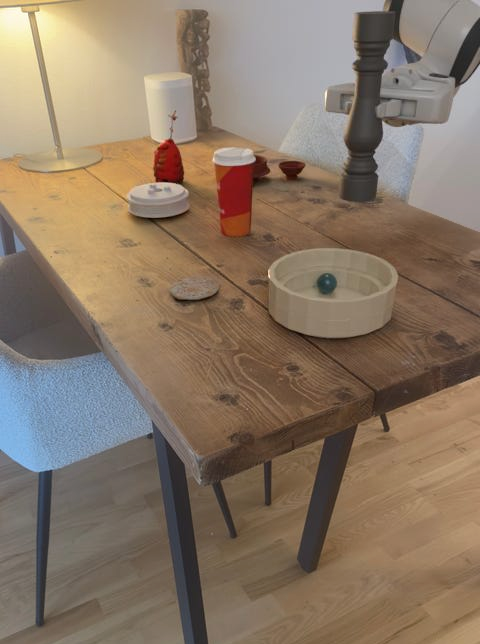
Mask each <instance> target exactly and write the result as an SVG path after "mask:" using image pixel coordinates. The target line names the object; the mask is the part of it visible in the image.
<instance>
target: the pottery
mask: <svg viewBox="0 0 480 644" xmlns="http://www.w3.org/2000/svg"><path fill="white" fill-rule="evenodd" d="M254 157H255V159H256V160H255V161H254V169H253V182H254V183H256V182H258V181H259V178H261V177H265V176H267V175H269V174H271V168H270V167H268V159H267V158H266V157H264V156H262V155H257V154H254ZM277 165H278V168H279V169H280V172H281V173H282V174H283V175H284V179H285V180H287V181H295V180H297V179H298V177H299V176H298V175H300V174H301V173H302V171H303V170H304V169H305V168H306V165H307V164H306V163H305V162H303V161H299V160H285V161H281V162H279V163H278V164H277ZM257 180H258V181H257Z"/></svg>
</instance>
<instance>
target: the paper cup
mask: <svg viewBox="0 0 480 644" xmlns="http://www.w3.org/2000/svg"><path fill="white" fill-rule="evenodd" d="M254 155H255V154H254V151H253V150H252V149H251V148H245V147H236V146H233V147H223V148H218V149H217V150H215V151H214V153H213V158H212V160H211V161H212V163H213V165H214V174H215V175H214V177H215V184H216V185H215V186H216V196H217V206H218V216H219V224H220V232H221V234H222V235H224V236H227V237H243V236H246V235H249V234H250V232H251V229H252V228H251V226H252V210H253V191H254V190H253V189H254V183H253V169H254V161H255V160H256V159H255V157H254Z"/></svg>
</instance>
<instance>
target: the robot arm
mask: <svg viewBox="0 0 480 644" xmlns="http://www.w3.org/2000/svg"><path fill="white" fill-rule="evenodd" d="M382 11H393V12H396V13H395V22H394V31H393V39H392V40H393V41H395V42H396V43H398V44H401V45H402V46H406V47H407V48H408V49H410V50H411V51H413V52H414V53H415V54H417V55H418V56H419V57H421V58H420V60H418V61H416V62H411V63H406V64H403V65H399V66H396V67H392V68H391V69H389V70H387V71H386V72H385V73H383V74H382V81H381V90H380V104H377V105H376V106H375V115H376V117H377V118H382V123H384V124H386V125H388V126H390V127H392V128H402V127H405V126H407V125H408V126H412V125H418V124H433V125H435V124H436V125H439V124H440V125H442V124H443V125H444V124H446V123H447V122H448V121H449V119H450V115H451V111H452V107H453V104H454V103H453V102H454V98H455V97H456V95H457V94H458V92H459V90H460V88H461V86H463V85H464V84H465V83H467V82H468V81H469V79H470V78H471V77H472V76H473V75H474V73H475V72H476V71H477V69H478V68H479V66H480V5H479V4H477V3H476V2H475V1H473V0H385V1H384V3H383V7H382ZM354 91H355V82H347V83H341V84H335V85H330V86H327V88H326V89H325V92H324V93H325V94H324V109H325V111H326V112H327V113H334V114H344V115H347V116H349V113H350V109H351V106H352V102H353V99H354Z"/></svg>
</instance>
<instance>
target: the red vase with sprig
mask: <svg viewBox="0 0 480 644" xmlns="http://www.w3.org/2000/svg"><path fill="white" fill-rule="evenodd" d="M176 113H177V110H174V111H173V114H171V115H170V114H168V115H167V116H168V117H170V118H171V125H170V126H171V127H169V130H170V137H169V138H168V139H164V141H162V142H161V143H160V144H158V145H157V147H156V150H155V151H153V155H154V158H153V167H152V169H153V170H152V171H153V177H154V181H155V182H154V183H159V182H165V183H174V184H175V183H177V184H179V183H181V182H183V181H184V178H185V177H184V176H185V168H184V165H183V160H182V159H183V158H182V155H181V152H180V149H179V147H178V146H177V145H176V143H175V140H174V139H173V138H172V136H173V135H172V134H173V132H174V129H173V124H174V121H176V120H177V119H178V118H179V116H176Z"/></svg>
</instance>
